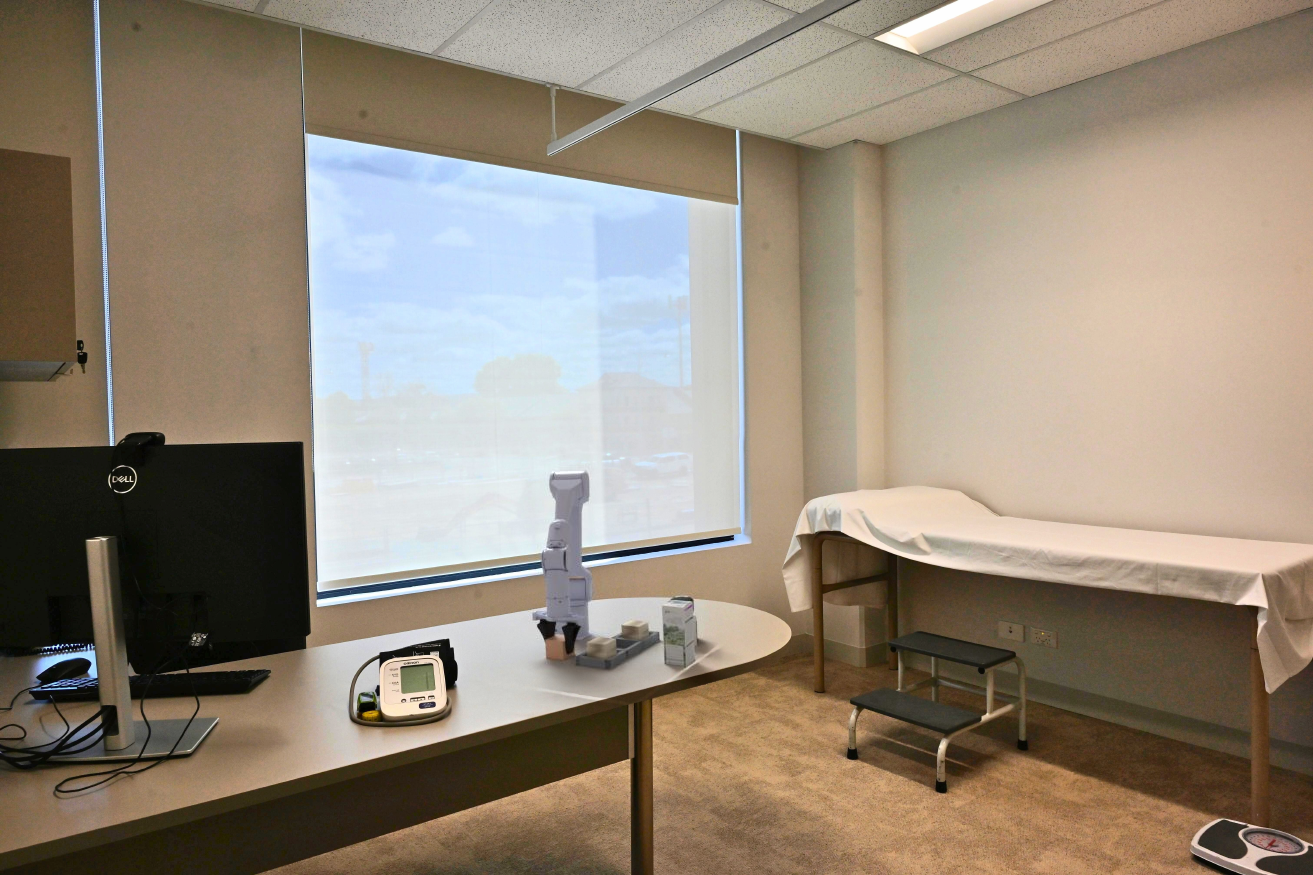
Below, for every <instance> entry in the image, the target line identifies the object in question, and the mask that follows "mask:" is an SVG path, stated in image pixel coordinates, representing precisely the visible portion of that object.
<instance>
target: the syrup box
mask: <svg viewBox="0 0 1313 875" xmlns="http://www.w3.org/2000/svg"><path fill="white" fill-rule="evenodd" d="M661 612H662V613H661V614H662V637H663V638H662V639H663V640H662V642H663V657H664V659H663V660H664V665H666V664H667V665H673V666H674V665H675V666H683V667H684V668H685V669H687V668H688V667H690V666H691V665H692V664H694V663H695V659H696V655H695V654H696V653H695V652H696V651H695V646H694V627H693V602H691V601H678V600H671V599H670V600H668V601H666V602H664V603H663V604H662V606H661Z"/></svg>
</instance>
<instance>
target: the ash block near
mask: <svg viewBox="0 0 1313 875" xmlns="http://www.w3.org/2000/svg"><path fill="white" fill-rule="evenodd" d="M586 651H587V657H594V658H601V659H608V658H610V657H612V656H614V655H615V654H617V652H616V639H613V638H612V637H605V636H597V637H595V638H593V639H591V640H589V641H587V642H586Z"/></svg>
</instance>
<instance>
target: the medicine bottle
mask: <svg viewBox="0 0 1313 875" xmlns="http://www.w3.org/2000/svg"><path fill="white" fill-rule="evenodd" d="M670 600H678V601H691V602H693V627H694V647H697V646H699V645H698V644H699V642H698V620H697V612H695V605H694V604H695V603H694V601H695V600H694V598H693V597H691V596H689V595H688V596H687V595H678V596H674V597H671V598H670Z"/></svg>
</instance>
